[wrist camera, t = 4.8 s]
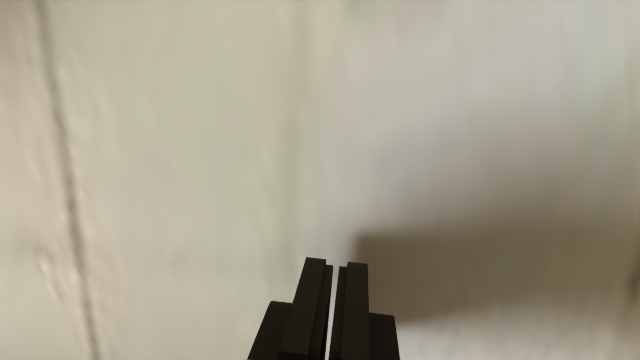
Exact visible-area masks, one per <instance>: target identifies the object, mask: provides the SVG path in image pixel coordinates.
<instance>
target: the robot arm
mask: <svg viewBox="0 0 640 360" xmlns="http://www.w3.org/2000/svg"><path fill="white" fill-rule="evenodd" d="M332 275H333V265H326V259H318V258H309V257H306V260H305V264H304V267H303V270H302V274H301V277H300V280H299V284H298V287H297V290H296V294H295V297H294V300H293V303H285V302H277V301H271V302H270V304H269V306H268V308H267V311H266V313H265V316H264V318H263V321H262V323H261V326H260V328H259V331H258V333H257V336H256V338H255V341H254V343H253V346H252V348H251V351H250V353H249V356H248V358H247V360H325V352H326V341H327V330H328V319H329V308H330V297H331V286H332ZM329 360H400V356H399V348H398V340H397V333H396V325H395V318H394V316H393V315H385V314H377V313H369V299H368V264H363V263H354V262H348V264H347V267H342V266H339V275H338V283H337V292H336V300H335V309H334V318H333V326H332V335H331V343H330V352H329Z"/></svg>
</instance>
